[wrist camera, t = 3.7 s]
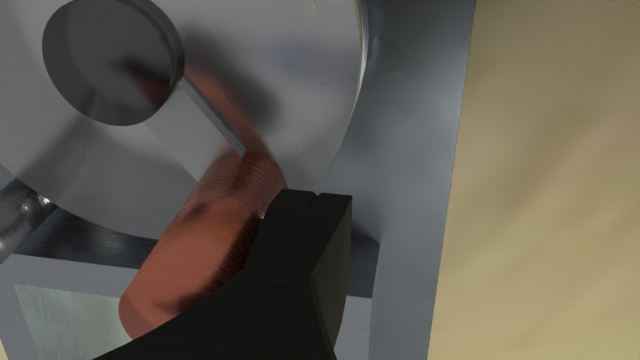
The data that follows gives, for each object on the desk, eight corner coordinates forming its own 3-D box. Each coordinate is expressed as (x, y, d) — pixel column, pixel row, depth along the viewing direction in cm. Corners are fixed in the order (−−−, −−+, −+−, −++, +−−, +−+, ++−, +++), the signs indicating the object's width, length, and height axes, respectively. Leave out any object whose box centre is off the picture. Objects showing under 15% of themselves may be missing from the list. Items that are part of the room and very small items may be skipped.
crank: (-119, -24, 13) (-418, 65, 9) (146, -372, 9) (-147, -547, 5) (162, 257, 16) (48, 435, 12) (456, 82, 12) (460, 248, 8)
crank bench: (517, -341, 10) (553, -420, 6) (409, 475, 21) (401, 600, 18) (-178, -318, 12) (-431, -369, 8) (68, 418, 23) (3, 520, 20)
